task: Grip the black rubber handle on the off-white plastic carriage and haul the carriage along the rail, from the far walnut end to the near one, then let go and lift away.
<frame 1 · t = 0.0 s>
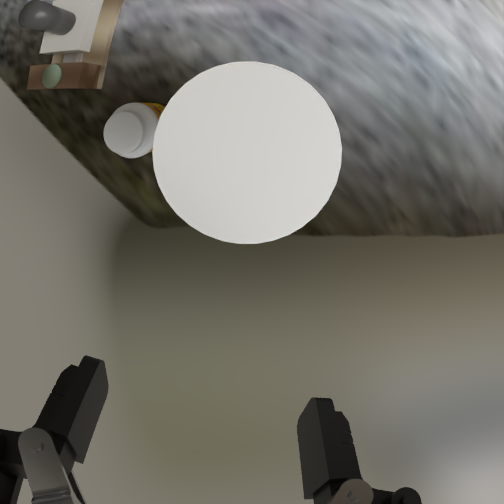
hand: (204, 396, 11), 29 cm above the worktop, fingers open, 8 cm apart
supplement bottle: (155, 125, 33), on the worktop
cylindrical container: (249, 123, 34), on the worktop
carriage: (54, 20, 20), point 8 cm above the worktop, slide at 5.0 cm
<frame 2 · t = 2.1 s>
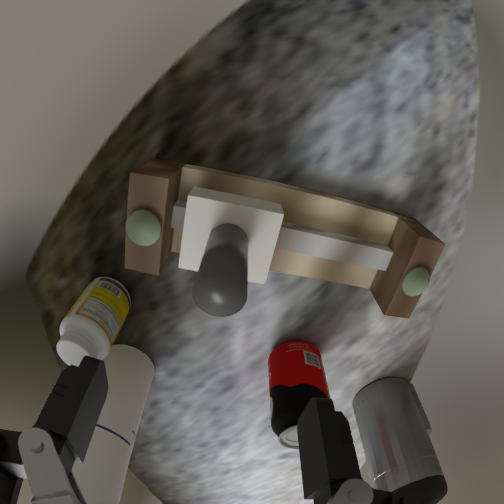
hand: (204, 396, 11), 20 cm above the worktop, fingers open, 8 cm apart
rail: (285, 227, 29), on the worktop
supplement bottle: (111, 294, 33), on the worktop
cylindrical container: (129, 362, 37), on the worktop
carriage: (226, 255, 21), point 8 cm above the worktop, slide at 5.0 cm
beverage can: (293, 353, 36), on the worktop
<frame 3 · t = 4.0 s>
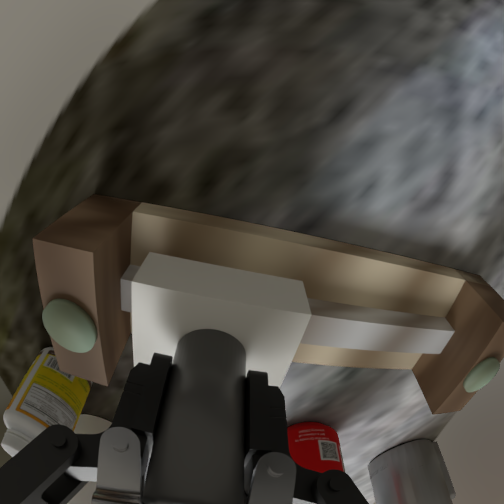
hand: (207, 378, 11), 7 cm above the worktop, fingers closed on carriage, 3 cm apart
rail: (303, 297, 18), on the worktop
supplement bottle: (68, 365, 22), on the worktop
cylindrical container: (104, 431, 27), on the worktop
carriage: (205, 395, 11), point 8 cm above the worktop, slide at 5.0 cm, touching gripper
beverage can: (303, 432, 26), on the worktop
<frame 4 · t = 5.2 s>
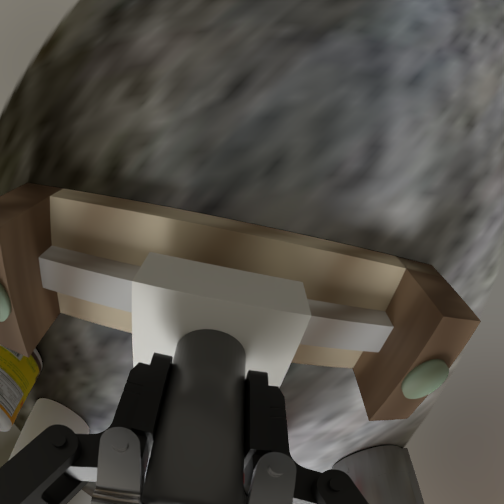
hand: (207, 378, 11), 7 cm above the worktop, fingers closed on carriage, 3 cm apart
rail: (217, 283, 18), on the worktop
supplement bottle: (22, 347, 22), on the worktop
cylindrical container: (62, 416, 26), on the worktop
carriage: (205, 395, 11), point 8 cm above the worktop, slide at -0.3 cm, touching gripper
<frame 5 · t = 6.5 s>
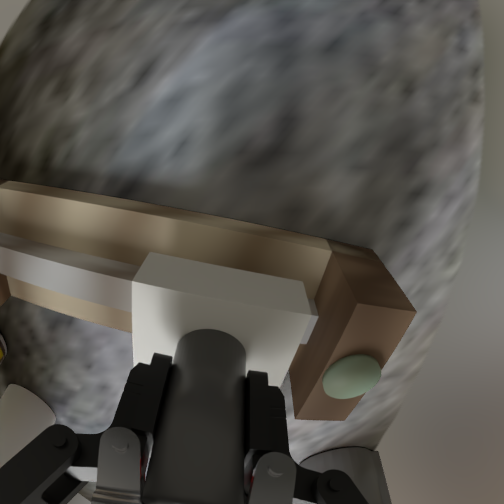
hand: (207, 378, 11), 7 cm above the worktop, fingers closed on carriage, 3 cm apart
rail: (139, 266, 17), on the worktop
cylindrical container: (31, 403, 26), on the worktop
carriage: (205, 395, 11), point 8 cm above the worktop, slide at -5.0 cm, touching gripper
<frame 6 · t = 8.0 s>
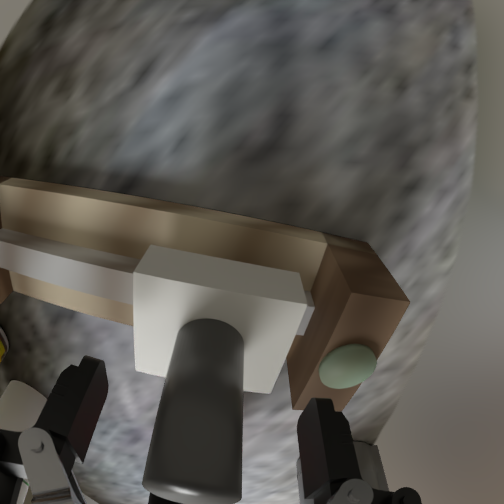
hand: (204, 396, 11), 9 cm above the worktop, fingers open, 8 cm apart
rail: (139, 260, 18), on the worktop
cylindrical container: (33, 399, 27), on the worktop
carriage: (204, 383, 11), point 8 cm above the worktop, slide at -5.0 cm
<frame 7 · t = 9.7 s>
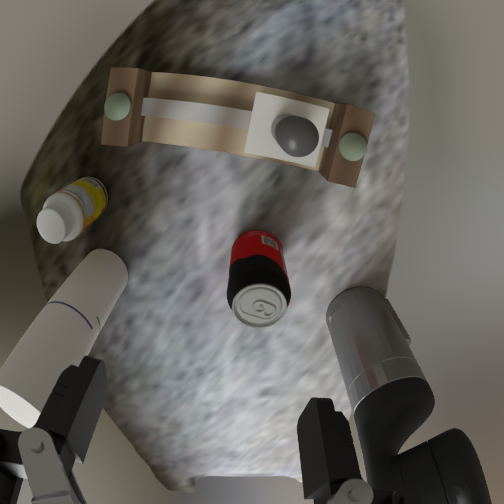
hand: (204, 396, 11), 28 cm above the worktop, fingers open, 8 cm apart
rail: (236, 117, 32), on the worktop
supplement bottle: (92, 195, 36), on the worktop
cylindrical container: (106, 270, 41), on the worktop
carriage: (290, 131, 25), point 8 cm above the worktop, slide at -5.0 cm
beverage can: (256, 249, 40), on the worktop
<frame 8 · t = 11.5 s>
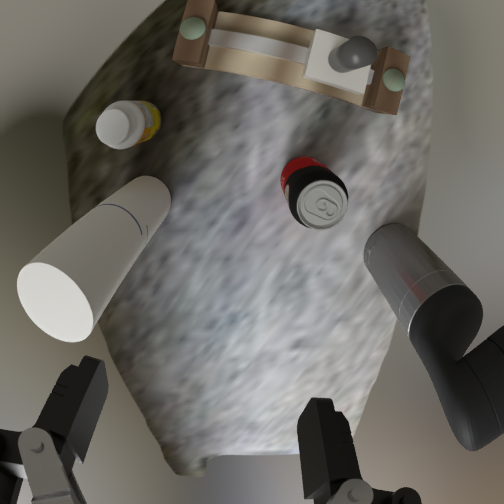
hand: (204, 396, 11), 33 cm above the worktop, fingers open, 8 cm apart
rail: (291, 56, 33), on the worktop
supplement bottle: (143, 120, 36), on the worktop
cylindrical container: (147, 199, 41), on the worktop
carriage: (347, 57, 26), point 8 cm above the worktop, slide at -5.0 cm
beverage can: (303, 177, 40), on the worktop
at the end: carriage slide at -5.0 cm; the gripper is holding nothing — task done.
